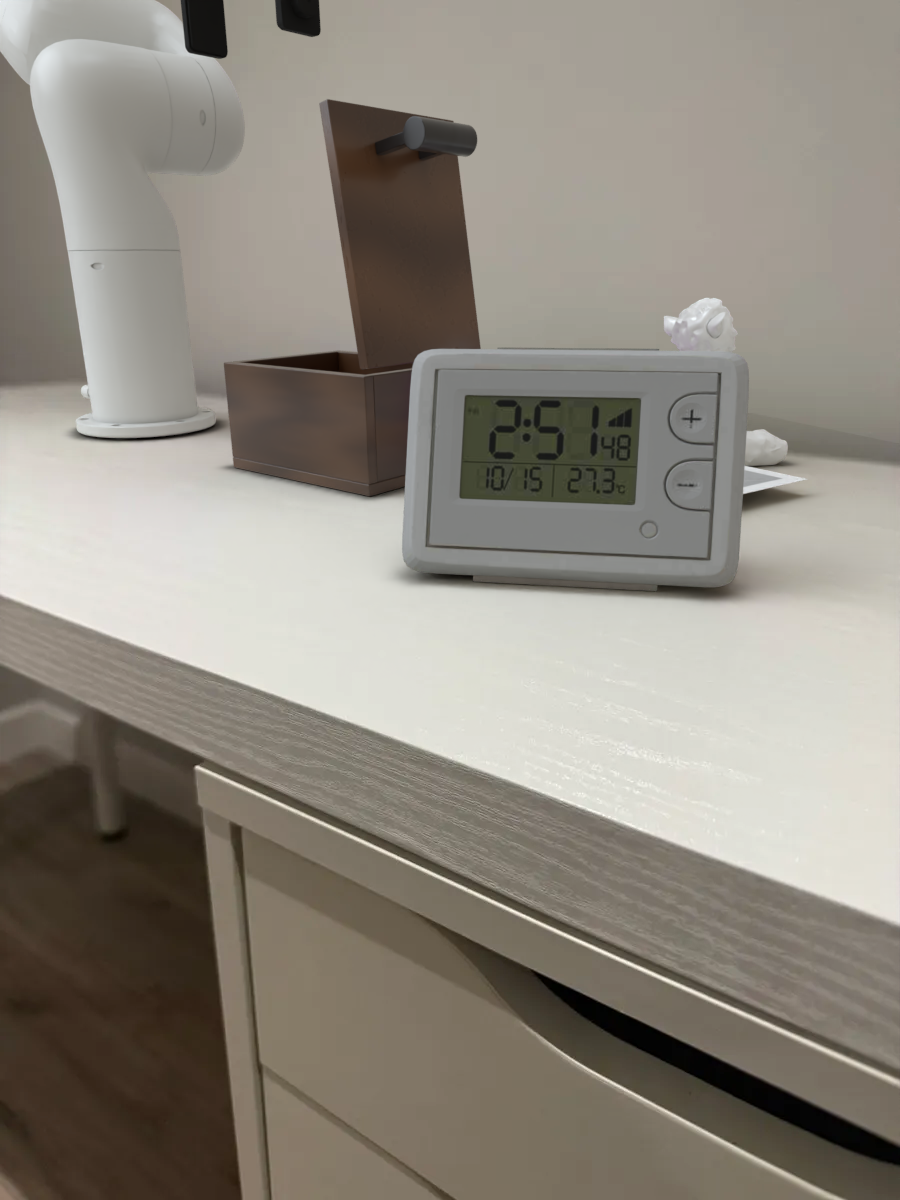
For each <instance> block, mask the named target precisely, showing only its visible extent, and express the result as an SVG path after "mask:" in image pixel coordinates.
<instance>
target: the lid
mask: <svg viewBox="0 0 900 1200" xmlns="http://www.w3.org/2000/svg"><path fill="white" fill-rule="evenodd" d="M318 106H319V112H320V118H321V124H322V131H323V139H324V144H325V151H326V156H327V165H328V169H329V170H328V171H329V176H330V182H331V188H332V189H331V190H332V197H333V202H334V207H335V209H334V210H335V215H336V216H335V217H336V221H337V229H338V234H339V241H340V247H341V254H342V260H343V268H344V273H345V279H346V287H347V293H348V300H349V305H350V313H351V318H352V325H353V332H354V338H355V345H356V352H358V358H359V365H360V369H361V370H364V369H371V368H379V367H386V366H394V365H402V364H409V363H414V360H415V358H416V357H417V356H418V354H420V353H422V352H423V351H427V350H431V349H482V348H481V340H480V330H479V323H478V314H477V305H476V298H475V289H474V282H473V272H472V264H471V256H470V247H469V238H468V231H467V230H468V229H467V222H466V214H465V213H466V212H465V205H464V197H463V190H462V189H463V188H462V180H461V173H460V163H459V157H465V158H466V157H470V156H471V155H473V153H475V151H476V149H477V146H478V134H477V132H476V129H475V128H474V127H473V126H472V125H470V124H465V123H460V122H455V121H454V120H451V119H446V118H439V117H434V116H428V115H423V114H416V113H411V112H406V111H399V110H393V109H388V108H383V107H382V108H380V107H375V106H370V105H365V104H358V103H353V102H347V101H341V100H336V99H329V98H326V99H325V100H323V101H320V102H319V105H318Z"/></svg>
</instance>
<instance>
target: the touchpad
mask: <svg viewBox="0 0 900 1200" xmlns="http://www.w3.org/2000/svg"><path fill="white" fill-rule="evenodd" d="M808 480H809V479H808V478H805V477H800V476H795V475H791V474H787V473H781V472H777V471H772V470H767V469H762V468H757V467H754V466H745V467H744V484H743V495H746V494H751V493H754V492H759V491H763V490H767V489H771V488H777V487H781V486H785V485H790V484H794V483H799V482H803V481H808Z"/></svg>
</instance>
